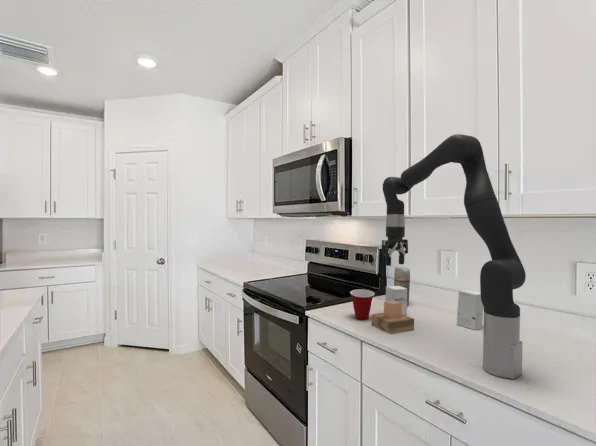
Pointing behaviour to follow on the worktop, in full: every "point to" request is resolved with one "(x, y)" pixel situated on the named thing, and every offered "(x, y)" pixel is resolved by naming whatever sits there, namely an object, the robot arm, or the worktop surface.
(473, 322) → the skincare box
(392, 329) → the walnut box
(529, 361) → the worktop surface
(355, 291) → the plastic cup
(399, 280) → the spray can
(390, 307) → the terracotta block
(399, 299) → the supplement box
